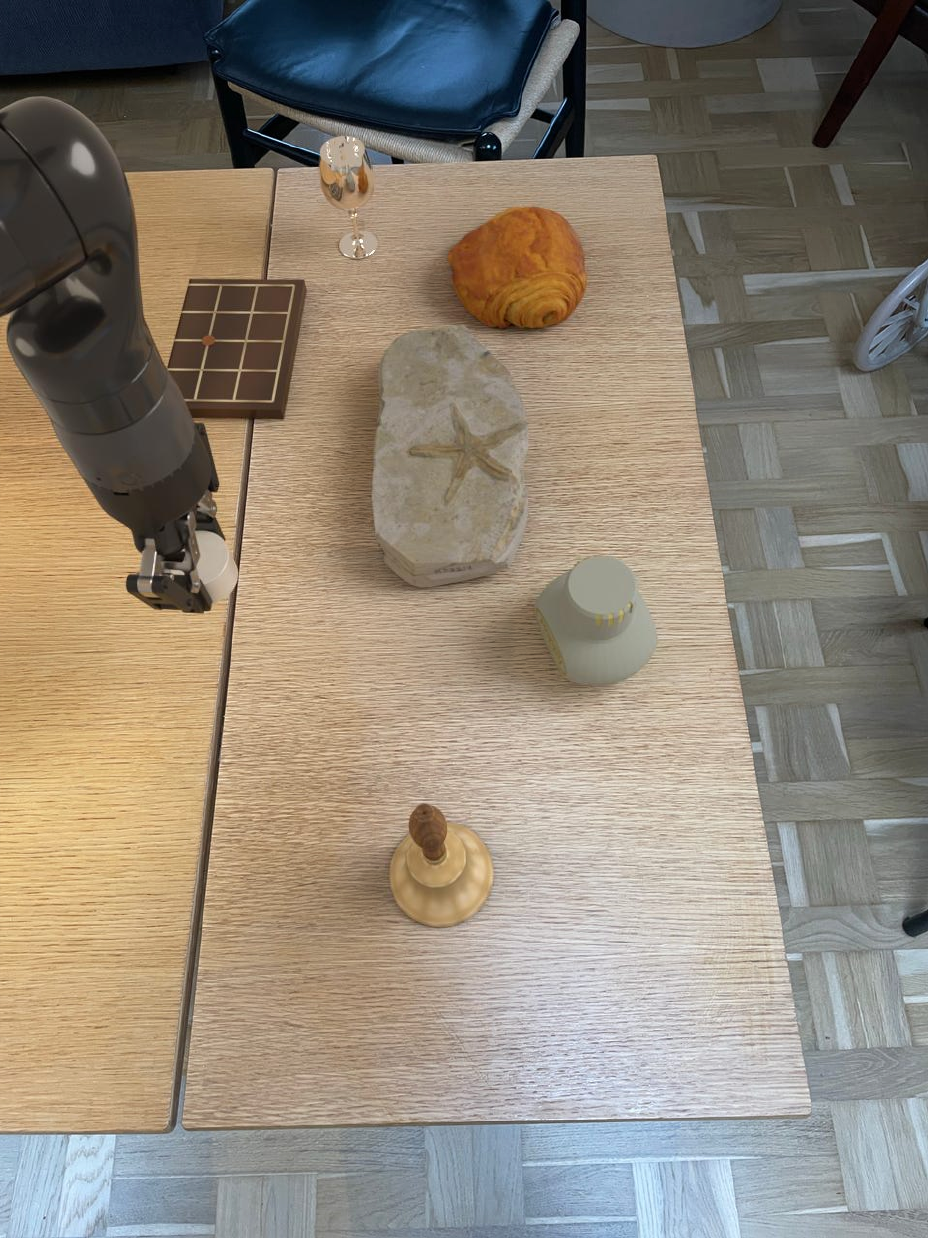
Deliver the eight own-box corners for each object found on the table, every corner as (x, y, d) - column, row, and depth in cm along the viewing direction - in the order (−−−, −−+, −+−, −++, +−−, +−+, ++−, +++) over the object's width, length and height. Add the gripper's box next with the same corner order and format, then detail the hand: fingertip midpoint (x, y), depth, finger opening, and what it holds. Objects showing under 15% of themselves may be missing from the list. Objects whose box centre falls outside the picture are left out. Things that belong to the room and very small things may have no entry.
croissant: (567, 245, 112) (571, 178, 106) (595, 331, 103) (602, 264, 97) (442, 258, 112) (438, 192, 105) (459, 346, 102) (456, 279, 96)
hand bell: (367, 878, 78) (335, 822, 64) (438, 801, 80) (422, 731, 66) (444, 950, 75) (429, 908, 61) (515, 868, 78) (516, 810, 64)
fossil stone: (384, 357, 103) (377, 320, 98) (524, 353, 102) (524, 315, 98) (372, 589, 90) (364, 559, 85) (532, 586, 89) (533, 556, 85)
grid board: (111, 416, 101) (105, 406, 99) (147, 288, 109) (142, 277, 108) (284, 419, 100) (280, 409, 98) (306, 289, 108) (304, 278, 106)
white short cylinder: (169, 604, 74) (157, 584, 71) (182, 549, 76) (170, 528, 73) (232, 607, 73) (222, 587, 71) (243, 552, 76) (234, 531, 73)
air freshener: (525, 606, 88) (526, 547, 80) (608, 575, 90) (619, 514, 81) (574, 710, 84) (582, 660, 75) (662, 676, 85) (680, 623, 76)
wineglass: (366, 269, 109) (350, 176, 98) (323, 252, 110) (303, 158, 100) (393, 236, 111) (381, 142, 101) (351, 220, 113) (334, 125, 102)
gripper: (99, 343, 63) (176, 495, 78) (39, 533, 56) (136, 659, 71) (214, 347, 62) (269, 499, 77) (167, 539, 56) (237, 664, 71)
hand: (205, 575), depth 74 cm, fingers closed on white short cylinder, 4 cm apart
